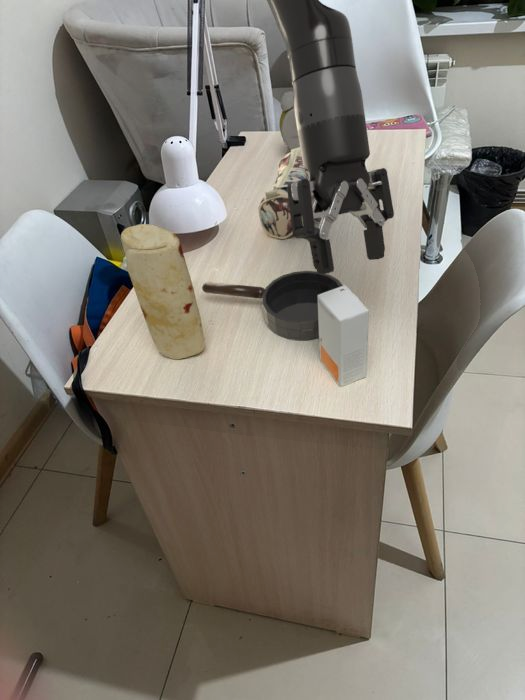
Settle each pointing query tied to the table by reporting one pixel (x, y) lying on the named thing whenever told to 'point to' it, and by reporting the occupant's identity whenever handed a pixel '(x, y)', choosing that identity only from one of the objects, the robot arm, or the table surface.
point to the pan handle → (233, 290)
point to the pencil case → (282, 196)
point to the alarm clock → (289, 122)
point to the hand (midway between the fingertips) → (352, 265)
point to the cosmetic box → (343, 334)
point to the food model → (164, 289)
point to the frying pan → (296, 303)
